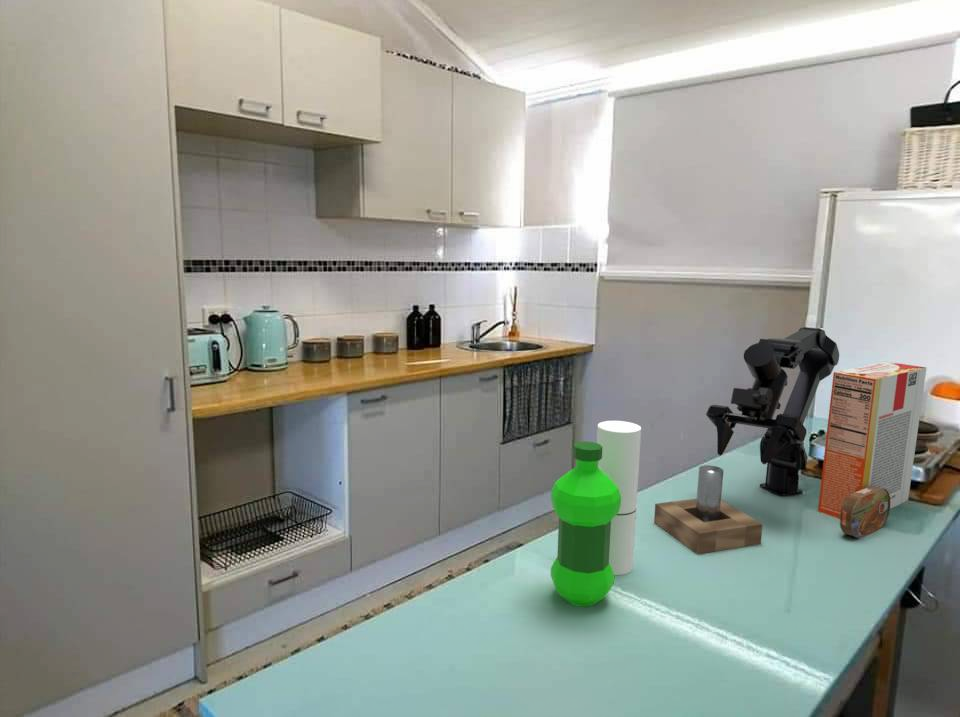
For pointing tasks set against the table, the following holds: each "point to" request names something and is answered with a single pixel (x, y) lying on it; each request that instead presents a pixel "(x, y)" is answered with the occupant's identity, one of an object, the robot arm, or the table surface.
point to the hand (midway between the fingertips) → (740, 458)
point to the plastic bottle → (584, 528)
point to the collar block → (707, 527)
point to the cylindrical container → (621, 486)
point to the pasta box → (871, 432)
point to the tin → (864, 511)
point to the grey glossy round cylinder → (709, 493)
